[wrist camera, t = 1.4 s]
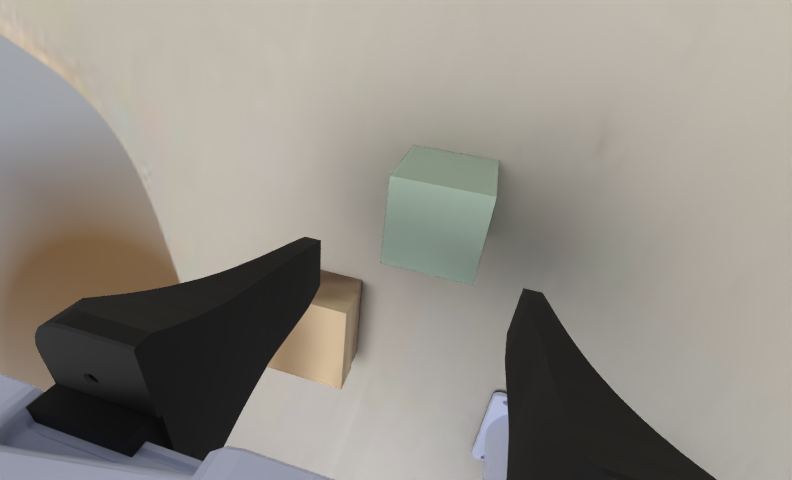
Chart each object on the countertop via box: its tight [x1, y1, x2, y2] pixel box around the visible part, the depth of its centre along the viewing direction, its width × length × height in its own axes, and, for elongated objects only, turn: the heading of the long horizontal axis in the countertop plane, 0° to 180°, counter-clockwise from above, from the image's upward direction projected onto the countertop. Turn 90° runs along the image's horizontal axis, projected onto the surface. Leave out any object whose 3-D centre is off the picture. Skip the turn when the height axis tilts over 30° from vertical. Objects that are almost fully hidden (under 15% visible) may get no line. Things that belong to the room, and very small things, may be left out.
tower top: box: [267, 284, 358, 389], centre depth 25 cm, size 7×7×2 cm
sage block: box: [380, 145, 499, 285], centre depth 19 cm, size 4×4×5 cm
